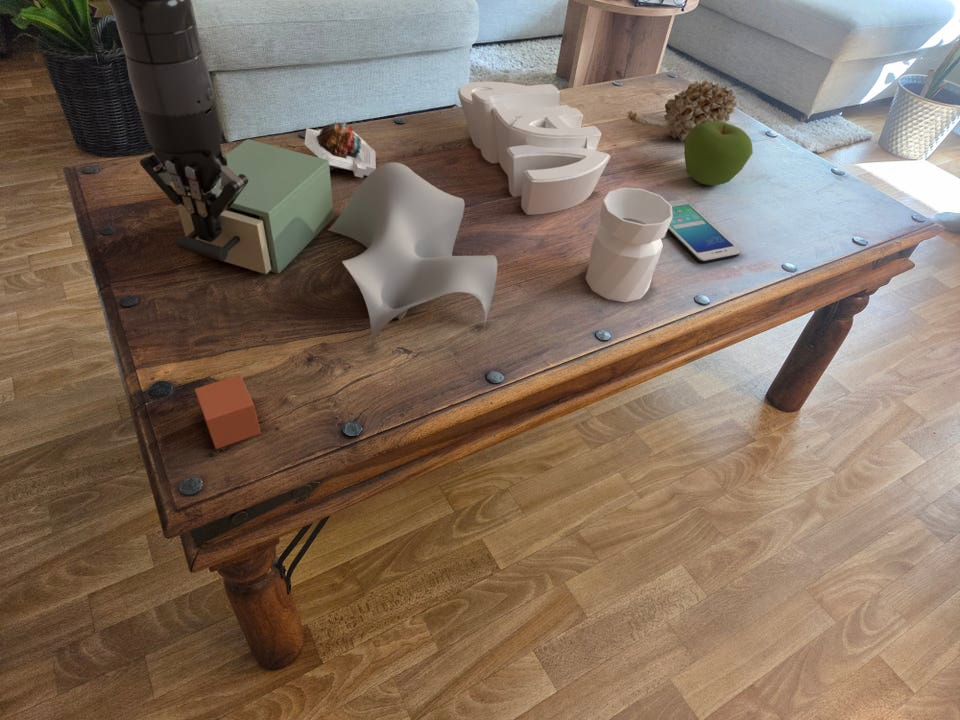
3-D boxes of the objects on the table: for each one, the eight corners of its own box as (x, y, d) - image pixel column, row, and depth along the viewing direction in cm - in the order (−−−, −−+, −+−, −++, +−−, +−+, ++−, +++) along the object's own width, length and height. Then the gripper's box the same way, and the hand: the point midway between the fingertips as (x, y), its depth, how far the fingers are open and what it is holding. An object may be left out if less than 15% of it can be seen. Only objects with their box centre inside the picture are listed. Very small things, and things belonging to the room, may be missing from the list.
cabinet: (278, 274, 85) (268, 213, 79) (195, 248, 87) (178, 187, 81) (334, 218, 95) (328, 160, 89) (257, 196, 97) (247, 138, 91)
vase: (614, 255, 94) (634, 180, 86) (661, 287, 90) (688, 211, 81) (571, 276, 90) (588, 199, 81) (618, 311, 85) (642, 233, 77)
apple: (677, 192, 108) (696, 135, 101) (670, 162, 116) (688, 106, 109) (742, 201, 108) (766, 144, 101) (732, 169, 115) (753, 115, 108)
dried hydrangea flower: (702, 120, 129) (719, 69, 122) (735, 142, 123) (754, 90, 116) (609, 134, 121) (621, 80, 114) (639, 159, 115) (654, 104, 108)
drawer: (246, 294, 80) (235, 245, 75) (166, 269, 82) (151, 219, 77) (320, 221, 93) (315, 174, 87) (249, 201, 95) (240, 154, 90)
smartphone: (684, 198, 105) (743, 251, 96) (683, 203, 106) (741, 256, 96) (645, 204, 103) (701, 259, 93) (644, 209, 103) (699, 264, 94)
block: (215, 449, 65) (206, 420, 62) (204, 418, 68) (194, 388, 64) (261, 433, 67) (253, 404, 64) (247, 403, 69) (240, 374, 66)
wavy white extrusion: (615, 224, 100) (632, 160, 92) (514, 235, 95) (523, 169, 88) (534, 120, 123) (542, 62, 116) (449, 126, 119) (452, 66, 111)
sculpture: (510, 322, 82) (520, 258, 75) (360, 350, 76) (356, 284, 69) (447, 214, 98) (450, 153, 91) (319, 231, 92) (313, 168, 86)
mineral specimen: (293, 137, 107) (304, 97, 102) (361, 152, 113) (374, 115, 108) (304, 180, 100) (316, 139, 95) (376, 193, 105) (390, 155, 101)
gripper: (94, 95, 66) (143, 239, 78) (207, 125, 64) (239, 269, 76) (145, 70, 71) (183, 208, 83) (252, 96, 69) (275, 235, 81)
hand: (210, 237), depth 80 cm, fingers closed
